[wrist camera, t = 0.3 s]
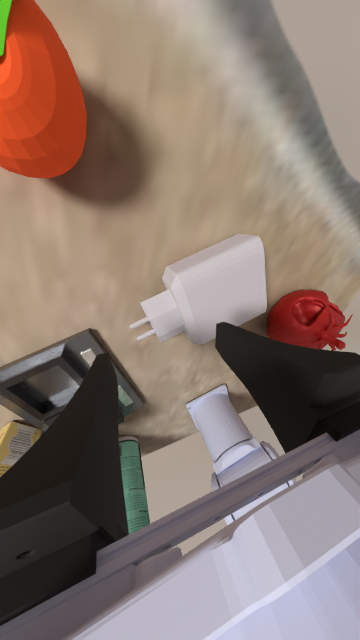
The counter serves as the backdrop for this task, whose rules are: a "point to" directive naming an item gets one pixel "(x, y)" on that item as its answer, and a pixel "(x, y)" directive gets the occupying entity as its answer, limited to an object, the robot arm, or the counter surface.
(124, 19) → the counter surface
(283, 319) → the pomegranate
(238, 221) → the counter surface
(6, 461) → the candy box
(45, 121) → the clementine
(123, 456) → the spray can
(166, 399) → the counter surface
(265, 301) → the charger
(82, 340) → the dark grey compartment tray
